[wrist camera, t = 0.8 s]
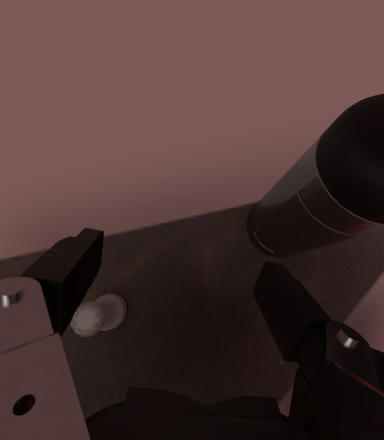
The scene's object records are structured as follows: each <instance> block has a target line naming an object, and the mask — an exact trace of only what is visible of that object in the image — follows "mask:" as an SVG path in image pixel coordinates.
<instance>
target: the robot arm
mask: <svg viewBox="0 0 384 440" xmlns="http://www.w3.org/2000/svg"><path fill="white" fill-rule="evenodd" d="M247 229H248V233H249V236H250V238H251V240H252V242H253V243H254V244H255V246H256V247H258V248H259V249H260V250H261V251H262V252H264V253H266V254H268V255H271V256H274V257H287V256H290V255H294V254H298V253H302V252H306V251H310V250H313V249H317V248H321V247H324V246H328V245H332V244H335V243H339V242H343V241H346V240H350V239H354V238H357V237H361V236H365V235H368V234H371V233H375V232H379V231H382V230H384V94H380V95H376V96H372V97H368V98H366V99H363V100H361V101H359V102H357V103H355V104H354V105H352V106H351V107H349V108H348V109H347V110H346V111H344V112H343V113H342V114H341V115H340V116H339V117H338V118H337V119H336V120H335V121H334V122H333V123H332V124H331V125H330V127H329V128H328V129H327V130H326V131H325V132H324V133H323V134H322V135H321V136H320V138H319V139H318V140H317V141H316V142H315V143H314V144H313V145H312V146H311V147H310V148H309V149H308V150H307V151H306V152H305V153H304V155H303V156H302V157H301V158H300V159H299V160H298V161H297V162H296V164H294V165H293V166H292V168H291V169H290V170H289V171H288V172H287V173H286V174H285V175H284V176H283V177H282V178H281V179H280V180H279V181H278V182H277V183H276V184H275V186H274V187H273V188H272V189H271V190H270V191H269V192H268V193H267V194H266V195H265V196H264V197H263V198H262V199H261V200H260V201H259V202H258V203H257V204H256V206H255V207H254V208H253V209H252V210H251V212H250V214H249V216H248V221H247ZM103 239H104V233H103V231H100V230H95V229H89V228H85V229H83V230H82V232H81V233H80V234H79V235H78V236H77V237H70V236H69V237H67V238H65V239H62V240H60V241H58V242H57V243H56V244H55V245H54V246H53V247H51V249H49V250H48V251H47V252H46V253H45V254H44V256H42V257H40V258H39V259H38V260H37V261H36V262H35V263H34V264H33V265H32V266H30V267H29V268H28V269H27V270H26V271H25V272H24V273H23V274H22V275H21V276H19V277H13V278H7V279H3V280H0V440H384V353H383V352H381V351H378V350H376V349H373V348H370V346H369V344H368V343H367V342H366V340H365V339H364V338H363V337H362V336H361V335H360V334H359V333H357V332H356V331H355V330H353V329H352V328H350V327H349V326H347V325H345V324H343V323H340V322H337V321H332V320H331V319H330V318H329V316H328V315H327V314H326V313H325V312H324V310H323V309H322V308H321V307H320V306H319V304H318V303H317V302H316V301H315V299H313V298H312V296H311V295H310V293H309V292H307V290H306V289H305V287H304V286H303V285H302V284H301V282H299V281H298V280H297V279H296V278H294V277H293V276H292V274H291V273H290V272H289V271H288V270H287V268H286V267H285V266H284V265H283V264H281V263H276V262H270V261H267V262H265V264H264V265H263V268H262V270H261V272H260V275H259V277H258V279H257V282H256V284H255V287H254V296H255V299H256V301H257V303H258V305H259V308H260V310H261V312H262V314H263V316H264V318H265V320H266V322H267V324H268V327H269V329H270V331H271V333H272V335H273V337H274V339H275V341H276V344H277V346H278V348H279V350H280V352H281V354H282V356H283V358H284V361H288V362H297V363H298V364H299V368H298V369H297V371H296V375H295V381H294V387H293V393H292V399H291V406H290V412H289V416H288V417H287V416H285V415H283V414H281V412H280V410H279V407H278V404H277V401H276V399H275V398H267V397H254V396H239V397H235V398H232V399H228V400H225V401H221V402H217V403H214V404H210V405H205V404H202V403H199V402H197V401H194V400H192V399H189V398H187V397H184V396H181V395H179V394H176V393H174V392H171V391H168V390H160V389H146V388H133V387H128V390H127V395H126V400H125V401H124V402H120V403H116V404H113V405H111V406H108V407H106V408H104V409H102V410H100V411H98V412H96V413H95V414H93V415H92V416H90V417H89V418H87V419H86V420H84V416H83V413H82V410H81V406H80V403H79V399H78V396H77V393H76V389H75V386H74V383H73V379H72V376H71V372H70V369H69V366H68V362H67V359H66V355H65V352H64V349H63V345H62V342H61V339H60V337H62V335H63V333H64V331H65V330H66V328H67V326H68V324H69V323H70V321H71V319H72V317H73V316H74V314H75V312H76V310H77V309H78V307H79V305H80V303H81V302H82V300H83V298H84V296H85V295H86V293H87V291H88V289H89V287H90V286H91V284H92V282H93V280H94V279H95V277H96V275H97V273H98V271H99V268H100V265H101V259H102V249H103Z"/></svg>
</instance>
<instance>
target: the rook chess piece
mask: <svg viewBox="0 0 384 440" xmlns="http://www.w3.org/2000/svg"><path fill="white" fill-rule="evenodd" d="M126 310H127V308H126V304H125V301H124V300H123V298H122V297H121V296H119V295H117V294H111V293H109V294H106V295H103V296H100V297H99V298H98V299H97V300H95V301H94V302H86V303H83V304H81V305H80V306H79V307H78V309H77V310H76V312H75V314H74V316H73V317H72V321H71V328H73V330H74V331H75V333H76V334H78V335H80V336H82V337H89V336H92V335H95V334H96V333H97V332H98V331H99V330H101V331H108V330H111V329H114V328H117V327H118V326H119V325H120V324H121V323H122V322H123V320H124V318H125V316H126Z"/></svg>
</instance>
